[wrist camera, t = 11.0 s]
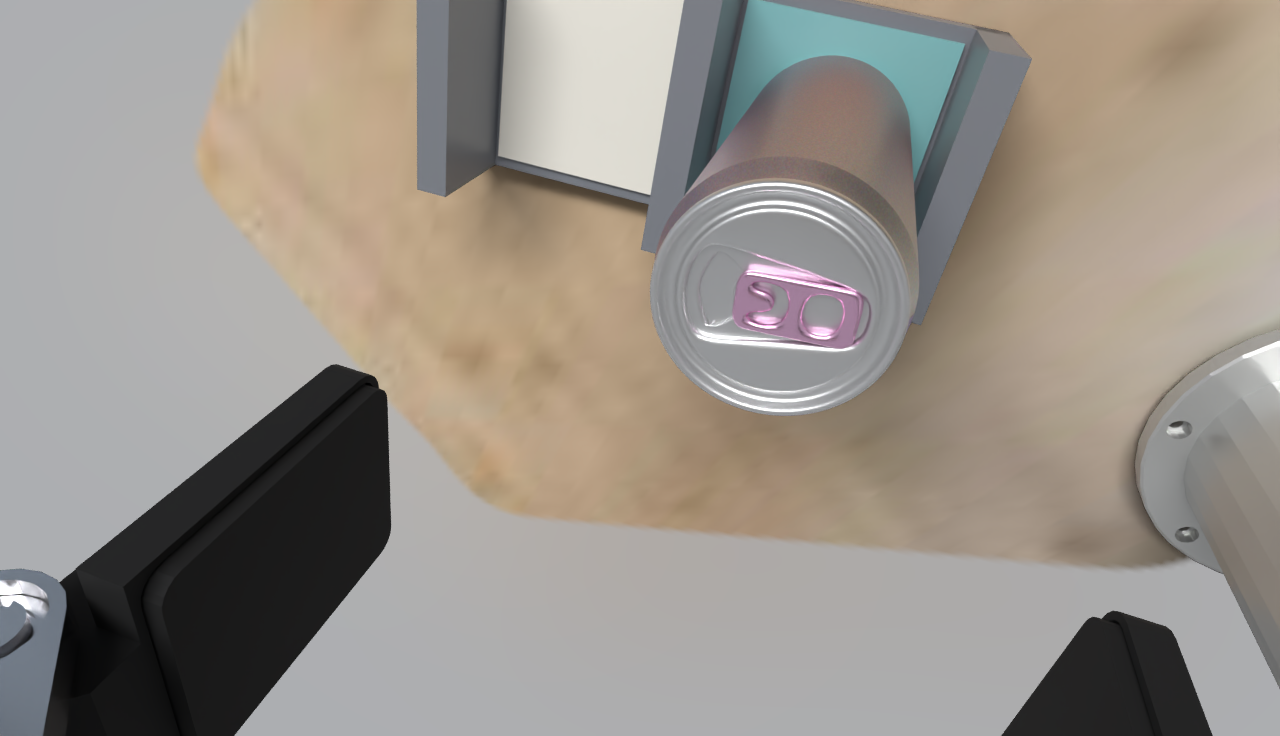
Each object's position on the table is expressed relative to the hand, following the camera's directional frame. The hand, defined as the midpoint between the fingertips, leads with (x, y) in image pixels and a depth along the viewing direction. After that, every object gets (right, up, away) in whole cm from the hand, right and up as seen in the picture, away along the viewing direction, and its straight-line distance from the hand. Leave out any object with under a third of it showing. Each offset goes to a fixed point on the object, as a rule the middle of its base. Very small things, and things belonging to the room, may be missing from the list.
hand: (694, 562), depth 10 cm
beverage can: (+6, +11, +19) cm, 23 cm away
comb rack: (+2, +13, +20) cm, 24 cm away
